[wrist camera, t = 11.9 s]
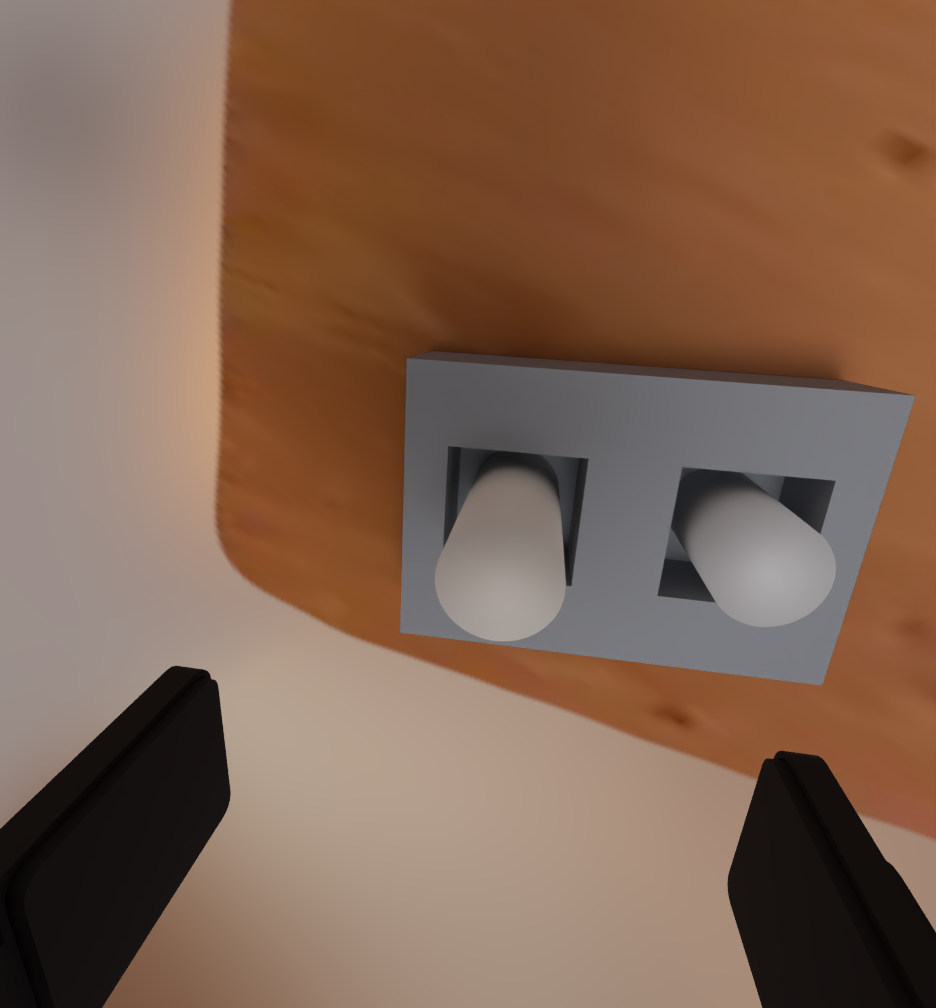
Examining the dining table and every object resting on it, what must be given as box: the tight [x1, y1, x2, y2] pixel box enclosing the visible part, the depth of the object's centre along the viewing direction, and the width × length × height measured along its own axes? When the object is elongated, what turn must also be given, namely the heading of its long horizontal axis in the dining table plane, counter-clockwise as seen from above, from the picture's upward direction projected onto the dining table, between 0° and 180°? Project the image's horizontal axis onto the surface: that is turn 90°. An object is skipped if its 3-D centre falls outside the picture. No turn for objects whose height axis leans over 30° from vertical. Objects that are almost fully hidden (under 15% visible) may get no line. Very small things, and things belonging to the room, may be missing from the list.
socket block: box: [400, 351, 915, 685], centre depth 23 cm, size 12×18×8 cm, turn 87°
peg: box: [435, 451, 566, 642], centre depth 22 cm, size 4×4×10 cm
